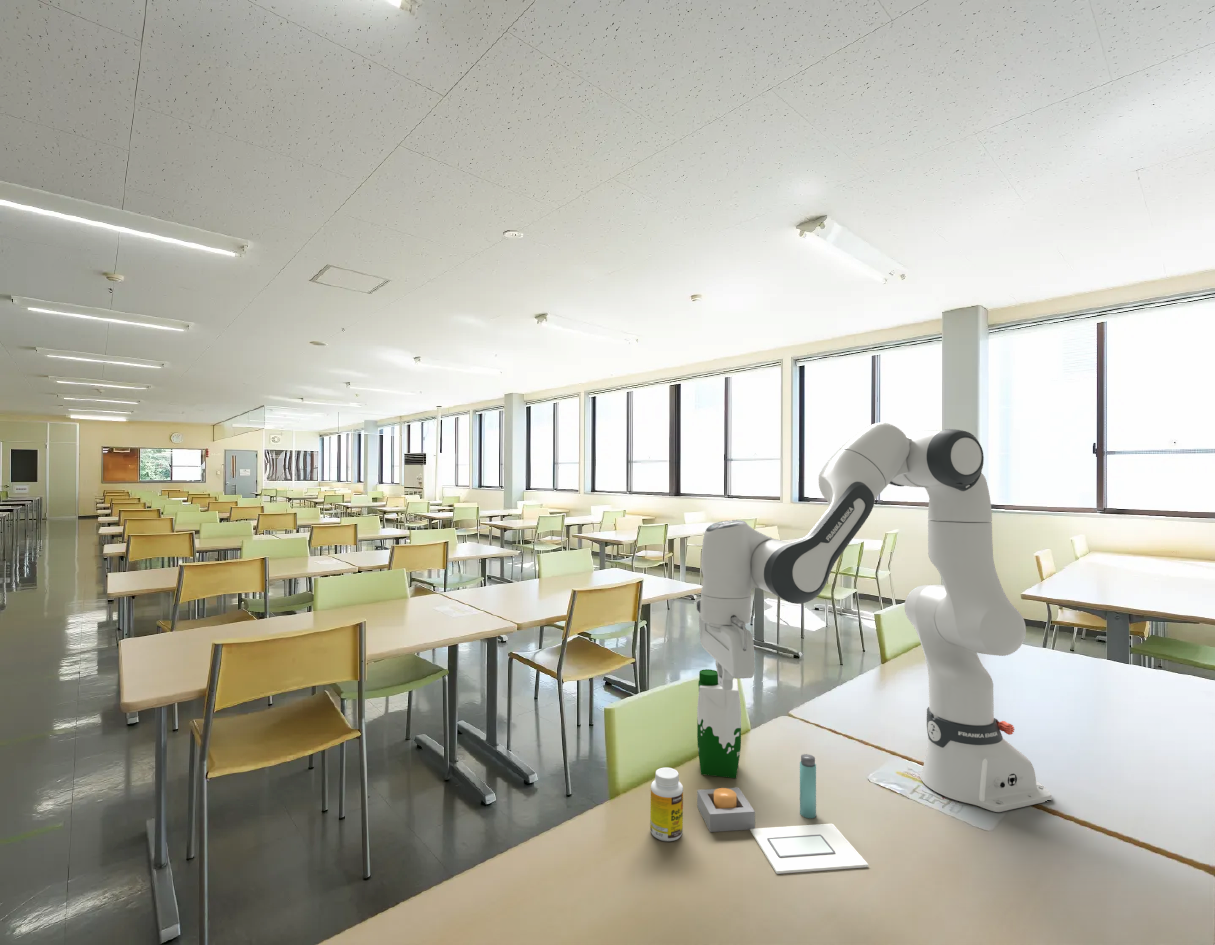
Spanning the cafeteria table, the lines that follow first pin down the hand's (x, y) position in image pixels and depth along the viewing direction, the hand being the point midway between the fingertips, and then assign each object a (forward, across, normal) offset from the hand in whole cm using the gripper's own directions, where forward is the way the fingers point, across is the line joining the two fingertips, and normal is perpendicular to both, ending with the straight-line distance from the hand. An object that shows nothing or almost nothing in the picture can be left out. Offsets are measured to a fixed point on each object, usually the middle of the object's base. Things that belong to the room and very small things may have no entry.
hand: (725, 687), depth 104 cm
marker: (+23, -1, -15) cm, 28 cm away
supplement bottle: (+23, -4, +11) cm, 26 cm away
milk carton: (+23, +18, -4) cm, 29 cm away
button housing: (+23, 0, 0) cm, 23 cm away
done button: (+22, 0, 0) cm, 22 cm away
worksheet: (+23, -10, -11) cm, 27 cm away
